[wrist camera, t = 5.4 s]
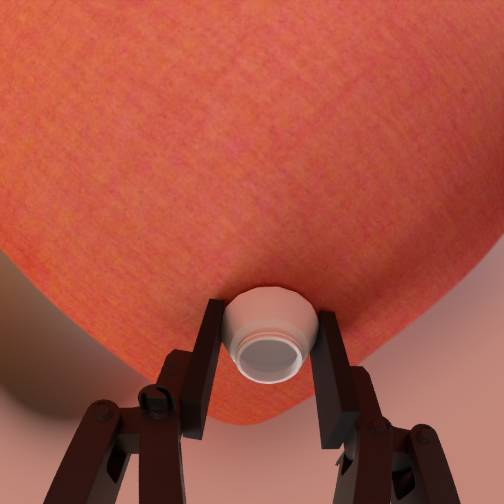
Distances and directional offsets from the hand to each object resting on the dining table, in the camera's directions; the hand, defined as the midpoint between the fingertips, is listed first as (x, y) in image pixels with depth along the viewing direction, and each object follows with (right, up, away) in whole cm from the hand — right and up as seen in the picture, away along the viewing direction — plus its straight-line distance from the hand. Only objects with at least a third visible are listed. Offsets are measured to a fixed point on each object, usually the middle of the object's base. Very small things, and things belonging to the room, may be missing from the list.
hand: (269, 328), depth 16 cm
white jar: (0, 0, 0) cm, 1 cm away
